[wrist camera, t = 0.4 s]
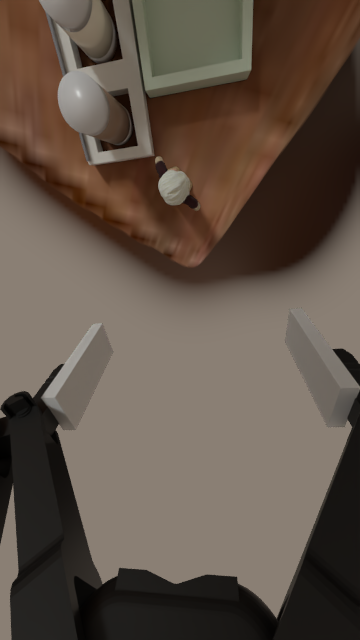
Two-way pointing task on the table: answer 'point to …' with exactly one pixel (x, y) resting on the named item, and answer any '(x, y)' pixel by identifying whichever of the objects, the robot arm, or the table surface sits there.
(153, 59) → the parts tray
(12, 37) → the table surface
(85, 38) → the fuse
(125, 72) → the white flat frame
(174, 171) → the grandmother figurine
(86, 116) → the white and tan cylinder
